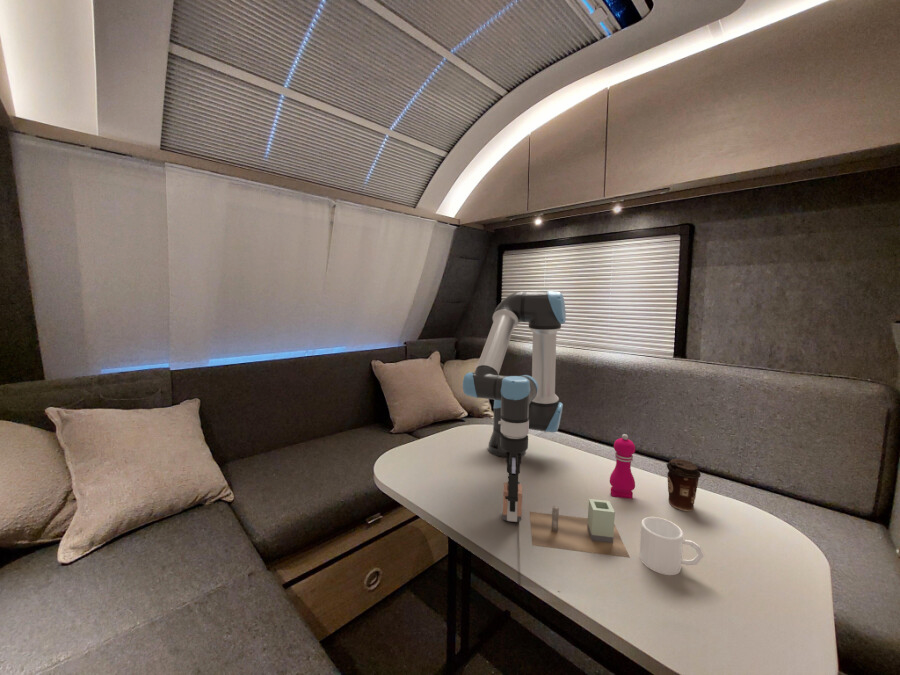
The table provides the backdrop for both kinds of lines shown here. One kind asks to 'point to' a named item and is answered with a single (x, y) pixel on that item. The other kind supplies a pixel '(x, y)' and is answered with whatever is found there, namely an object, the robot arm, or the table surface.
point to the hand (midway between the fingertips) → (512, 514)
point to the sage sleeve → (601, 520)
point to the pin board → (571, 534)
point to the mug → (664, 546)
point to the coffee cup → (682, 483)
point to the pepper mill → (623, 469)
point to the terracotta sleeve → (519, 508)
